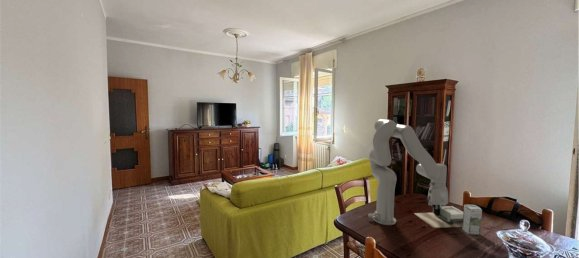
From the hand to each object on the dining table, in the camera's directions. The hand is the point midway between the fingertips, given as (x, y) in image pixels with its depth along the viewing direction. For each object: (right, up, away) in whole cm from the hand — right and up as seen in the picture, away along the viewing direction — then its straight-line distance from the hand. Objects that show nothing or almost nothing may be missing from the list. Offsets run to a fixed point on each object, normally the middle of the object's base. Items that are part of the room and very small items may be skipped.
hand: (436, 214), depth 142 cm
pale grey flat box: (+9, -3, +1) cm, 10 cm away
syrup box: (+10, -5, -14) cm, 18 cm away
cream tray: (+5, -3, +1) cm, 6 cm away
